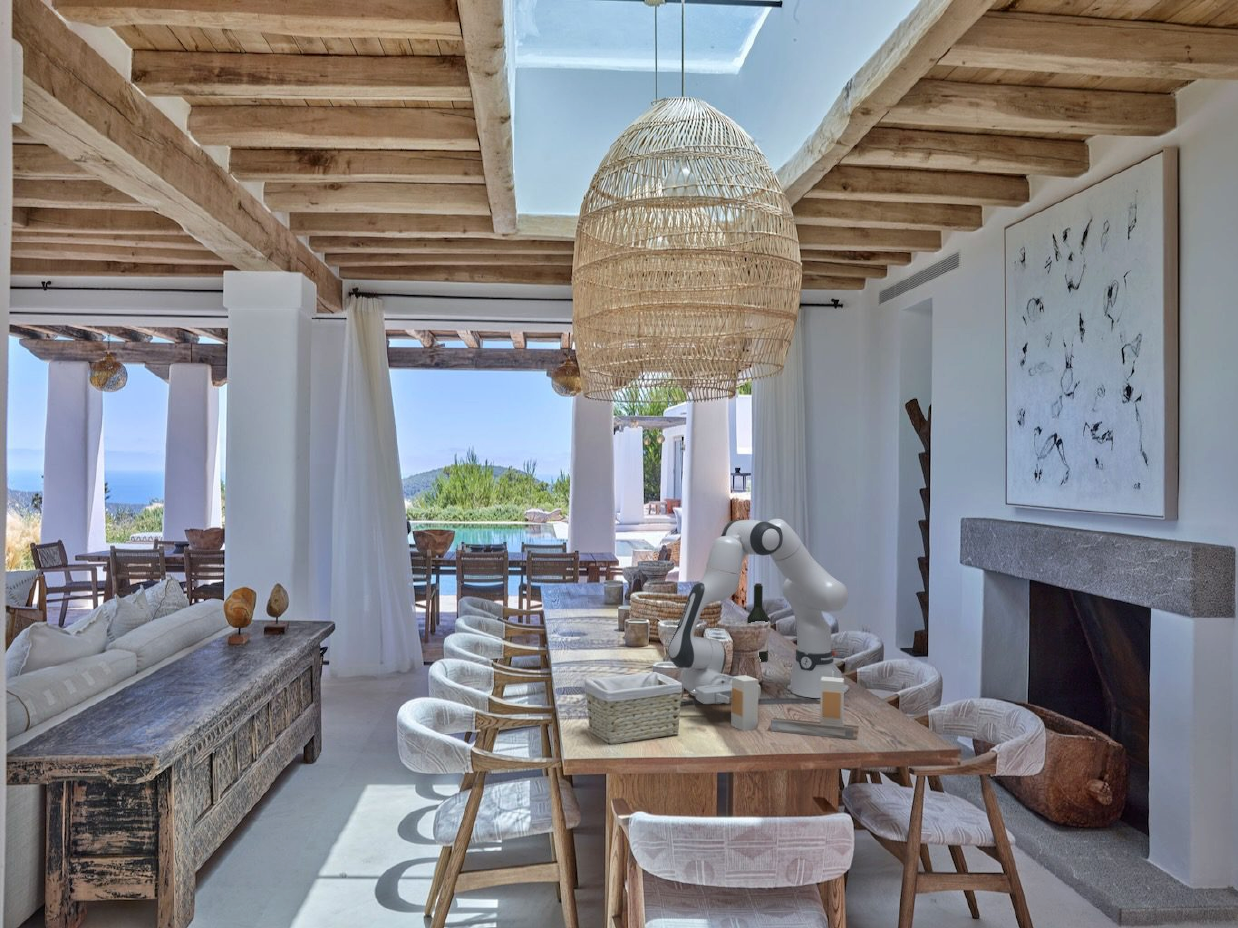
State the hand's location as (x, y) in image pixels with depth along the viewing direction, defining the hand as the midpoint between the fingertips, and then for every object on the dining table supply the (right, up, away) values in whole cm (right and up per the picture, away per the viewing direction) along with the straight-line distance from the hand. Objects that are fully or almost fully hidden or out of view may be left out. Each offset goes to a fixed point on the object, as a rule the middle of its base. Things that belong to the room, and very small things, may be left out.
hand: (743, 698), depth 250 cm
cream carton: (0, -8, -1) cm, 8 cm away
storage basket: (-32, -8, -8) cm, 34 cm away
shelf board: (+19, -8, -6) cm, 21 cm away
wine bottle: (+19, -10, +92) cm, 95 cm away
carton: (+24, -7, -7) cm, 26 cm away
